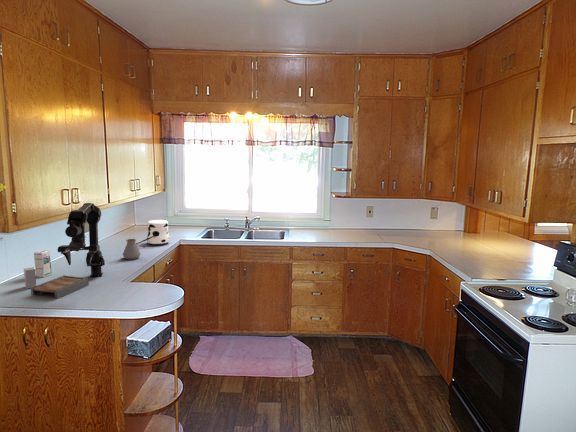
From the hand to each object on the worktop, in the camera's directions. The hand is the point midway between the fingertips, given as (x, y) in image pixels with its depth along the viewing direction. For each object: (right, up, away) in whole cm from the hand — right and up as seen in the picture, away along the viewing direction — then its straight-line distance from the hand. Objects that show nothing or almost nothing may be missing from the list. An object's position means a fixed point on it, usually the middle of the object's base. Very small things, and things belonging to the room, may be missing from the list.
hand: (79, 264), depth 208 cm
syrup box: (-35, -10, +27) cm, 45 cm away
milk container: (+5, +3, +112) cm, 112 cm away
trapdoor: (-12, -13, +2) cm, 18 cm away
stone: (-30, -13, +8) cm, 34 cm away
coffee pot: (+5, -4, +70) cm, 70 cm away
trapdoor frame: (-12, -14, +4) cm, 18 cm away
